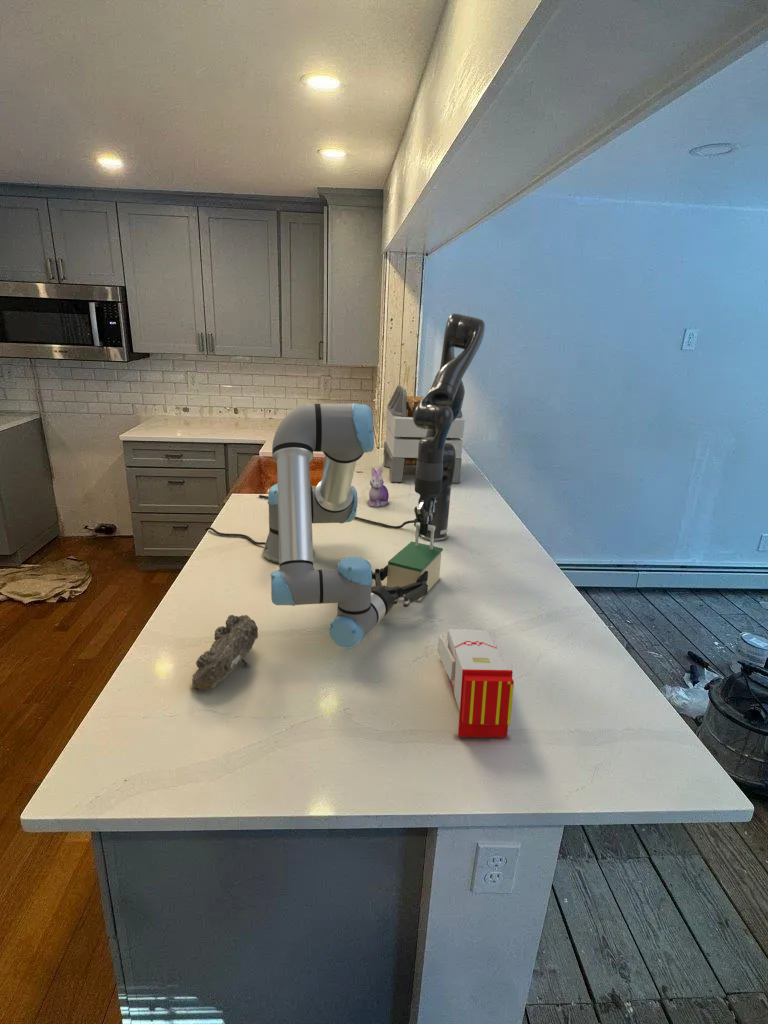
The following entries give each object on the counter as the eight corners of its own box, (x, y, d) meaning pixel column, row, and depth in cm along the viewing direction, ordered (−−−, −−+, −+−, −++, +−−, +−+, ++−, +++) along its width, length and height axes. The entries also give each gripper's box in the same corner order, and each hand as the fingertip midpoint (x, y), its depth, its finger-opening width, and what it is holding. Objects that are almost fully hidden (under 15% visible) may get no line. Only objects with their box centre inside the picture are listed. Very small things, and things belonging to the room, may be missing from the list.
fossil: (211, 617, 133) (257, 588, 128) (239, 645, 136) (285, 617, 131) (171, 683, 114) (223, 651, 109) (205, 714, 117) (257, 684, 112)
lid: (411, 543, 170) (413, 518, 167) (442, 550, 166) (444, 524, 163) (387, 564, 155) (389, 536, 152) (421, 572, 151) (423, 544, 149)
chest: (408, 571, 172) (410, 545, 169) (439, 579, 168) (441, 552, 165) (386, 592, 158) (387, 564, 155) (419, 601, 154) (421, 572, 151)
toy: (488, 613, 130) (523, 677, 101) (484, 667, 133) (517, 744, 104) (435, 612, 130) (455, 676, 101) (432, 666, 133) (451, 743, 103)
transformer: (382, 463, 289) (386, 382, 275) (445, 464, 293) (451, 384, 279) (390, 482, 257) (394, 392, 243) (460, 483, 261) (468, 394, 247)
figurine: (373, 508, 223) (374, 472, 218) (362, 500, 232) (363, 465, 226) (394, 505, 227) (396, 469, 222) (382, 498, 236) (384, 463, 231)
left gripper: (332, 607, 144) (371, 574, 163) (414, 631, 135) (446, 593, 154) (332, 581, 141) (372, 550, 160) (416, 603, 132) (448, 567, 151)
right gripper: (432, 484, 150) (428, 544, 156) (449, 472, 162) (445, 528, 168) (406, 479, 153) (403, 538, 159) (425, 468, 165) (421, 523, 171)
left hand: (408, 571), depth 157 cm, fingers closed on chest, 10 cm apart
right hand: (424, 533), depth 164 cm, fingers closed on lid
